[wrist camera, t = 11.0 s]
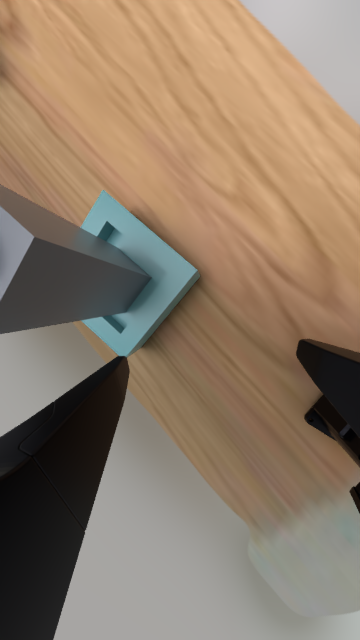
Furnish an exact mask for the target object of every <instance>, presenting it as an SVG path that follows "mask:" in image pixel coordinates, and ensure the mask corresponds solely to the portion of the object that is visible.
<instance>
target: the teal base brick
mask: <svg viewBox="0 0 360 640" xmlns="http://www.w3.org/2000/svg"><path fill="white" fill-rule="evenodd" d="M81 228H82V229H84V230H86V231H88V232H90V233H91V234H93V235H95V236H97V237H99V238H101V239H103V240H104V241H106V242H108V243H110V244H112V245H114V246H116V247H117V248H119V249H120V250H121V251H122V252H123V253H124V254H126V255H127V256H128V257H129V258H130V259H131V260H132V261H134V262H135V263H136V264H137V265H138V266H139V267H141V268H142V269H143V270H144V271H145V272H146V273H147V274H149V275H150V276H151V277H152V278H151V280H150V281H149V282H148V284H147V285H146V286H145V288H144V289H143V290H142V292H141V293H140V294H139V295H138V297H137V298H136V299H135V301H134V302H133V303H132V305H131V306H130V307H129V309H128V310H127V311H126V313H121V314H115V315H109V316H104V317H98V318H92V319H86V320H81V321H82V322H83V323H84V324H86V325H87V326H88V327H89V328H90V329H91V330H92V331H93V332H94V333H95V334H96V335H97V336H99V337H100V338H101V339H102V340H103V341H104V342H105V343H106V344H107V345H108V346H109V347H110V348H112V349H113V350H114V351H115V352H116V353H117V354H118V355H119V356H126V358H127V357H128V356H130V355H131V354H133V353H134V352H136V351H137V350H138V349H140V348H141V347H142V346H143V345H144V343H145V342H146V341H147V340H148V339H149V337H150V336H151V335H152V334H153V333H154V331H155V330H156V329H157V328H158V327H159V325H160V324H161V323H162V322H163V321H164V319H165V318H166V317H167V316H168V315H169V313H170V312H171V311H172V310H173V309H174V307H175V306H176V305H177V304H178V303H179V301H180V300H181V299H182V298H183V297H184V295H185V294H186V293H187V292H188V291H189V289H190V288H191V287H192V286H193V285H194V283H195V282H196V281H197V280H198V279H199V277H200V274H199V272H198V270H197V269H196V268H194V267H193V266H192V265H191V264H190V263H189V262H187V261H186V260H185V259H184V258H183V257H182V256H180V255H179V254H178V253H177V252H176V251H174V250H173V249H172V248H171V247H170V246H169V245H167V244H166V243H165V242H164V241H163V240H162V239H160V238H159V237H158V236H157V235H156V234H155V233H153V232H152V231H151V230H150V229H149V228H148V227H146V226H145V225H144V224H143V223H142V222H141V221H139V220H138V219H137V218H136V217H135V216H133V215H132V214H131V213H130V212H129V211H128V210H126V209H125V208H124V207H123V206H122V205H121V204H119V203H118V202H117V201H116V200H115V199H114V198H112V197H111V196H110V195H109V194H108V193H107V192H105V191H104V190H103V191H102V192H101V194H100V196H99V197H98V199H97V201H96V202H95V204H94V206H93V207H92V209H91V211H90V212H89V214H88V216H87V217H86V219H85V221H84V223H83V224H82V226H81Z"/></svg>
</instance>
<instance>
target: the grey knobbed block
mask: <svg viewBox="0 0 360 640" xmlns="http://www.w3.org/2000/svg"><path fill="white" fill-rule="evenodd" d="M151 278H152V277H151V276H150V275H149V274H147V273H146V272H145V271H144V270H143V269H142V268H141V267H139V266H138V265H137V264H136V263H135V262H134V261H132V260H131V259H130V258H129V257H128V256H127V255H126V254H124V253H123V252H122V251H121V250H120V249H119V248H117V247H116V246H114V245H112V244H110V243H108V242H106V241H104V240H103V239H101V238H99V237H97V236H95V235H93V234H91V233H90V232H88V231H86V230H84V229H82V228H80V227H78V226H77V225H75V224H73V223H71V222H69V221H67V220H65V219H64V218H62V217H60V216H58V215H56V214H54V213H52V212H51V211H49V210H47V209H45V208H43V207H41V206H39V205H38V204H36V203H34V202H32V201H30V200H28V199H26V198H25V197H23V196H21V195H19V194H17V193H15V192H13V191H12V190H10V189H8V188H6V187H4V186H2V185H1V184H0V334H3V333H10V332H15V331H21V330H27V329H33V328H38V327H45V326H50V325H57V324H62V323H68V322H74V321H80V320H86V319H92V318H98V317H104V316H109V315H115V314H121V313H126V311H127V310H128V309H129V307H130V306H131V305H132V303H133V302H134V301H135V299H136V298H137V297H138V295H139V294H140V293H141V292H142V290H143V289H144V288H145V286H146V285H147V284H148V282H149V281H150V280H151Z"/></svg>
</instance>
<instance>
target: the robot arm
mask: <svg viewBox="0 0 360 640" xmlns="http://www.w3.org/2000/svg"><path fill="white" fill-rule="evenodd" d="M296 356H297V358H298V360H299V361H300V363H301V364H302V365H303V367H304V368H305V370H306V371H307V373H308V374H309V376H310V377H311V379H312V380H313V382H314V383H315V384H316V386H317V387H318V388H319V389H320V390H321V392H322V393H323V394H324V395H323V396H322V397H321V398H320V399H319V400H318V402H317V403H316V404H315V405H314V406H313V407H312V408H311V409H310V411H309V412H308V413H307V414H306V415H305V417H304V419H305V420H306V422H307V423H308V424H310V425H311V426H313V427H315V428H316V429H318V430H319V431H321V432H323V433H324V434H326V435H327V436H329V437H331V438H332V439H334V440H335V441H337V442H338V443H339V444H340V445H341V447H342V448H343V449H344V450H345V451H346V452H347V453H348V455H349V456H350V457H351V458H352V459H353V460H354V461H355V463H356V464H357V465H358V466H359V467H360V353H358V352H354V351H351V350H347V349H344V348H340V347H337V346H333V345H329V344H326V343H322V342H319V341H315V340H312V339H301V340H300V341H299V342H298V347H297V352H296ZM129 372H130V371H129V365H128V361H127V358H126V356H117V357H116V358H114V359H113V360H112V361H110V362H109V363H107V364H106V365H104V366H103V367H102V368H100V369H99V370H97V371H96V372H95V373H93V374H92V375H90V376H89V377H87V378H86V379H85V380H83V381H82V382H80V383H79V384H78V385H76V386H75V387H73V388H72V389H71V390H69V391H68V392H66V393H65V394H64V395H62V396H61V397H59V398H58V399H56V400H55V401H54V402H52V403H51V404H50V405H48V406H46V407H45V408H44V409H42V410H41V411H39V412H38V413H36V414H35V415H34V416H32V417H31V418H29V419H28V420H26V421H25V422H23V423H21V424H20V425H18V426H17V427H15V428H14V429H12V430H11V431H9V432H7V433H6V434H4V435H3V436H1V437H0V640H53V638H54V635H55V631H56V628H57V625H58V622H59V618H60V615H61V611H62V608H63V605H64V602H65V598H66V595H67V591H68V588H69V585H70V581H71V578H72V575H73V571H74V568H75V565H76V562H77V558H78V555H79V551H80V548H81V545H82V541H83V538H84V535H85V530H86V528H87V524H88V521H89V518H90V514H91V511H92V507H93V504H94V501H95V497H96V494H97V491H98V487H99V484H100V481H101V477H102V474H103V471H104V467H105V464H106V461H107V457H108V454H109V451H110V447H111V444H112V441H113V437H114V434H115V430H116V427H117V424H118V421H119V417H120V414H121V410H122V407H123V403H124V400H125V395H126V389H127V384H128V378H129ZM310 418H312V419H311V420H309V419H310ZM350 494H351V496H352V498H353V500H354V502H355V504H356V507H357V509H358V511H359V513H360V482H359V483H358V484H357V486H356V487H354V486H353V487H352V488H351V490H350Z"/></svg>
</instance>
